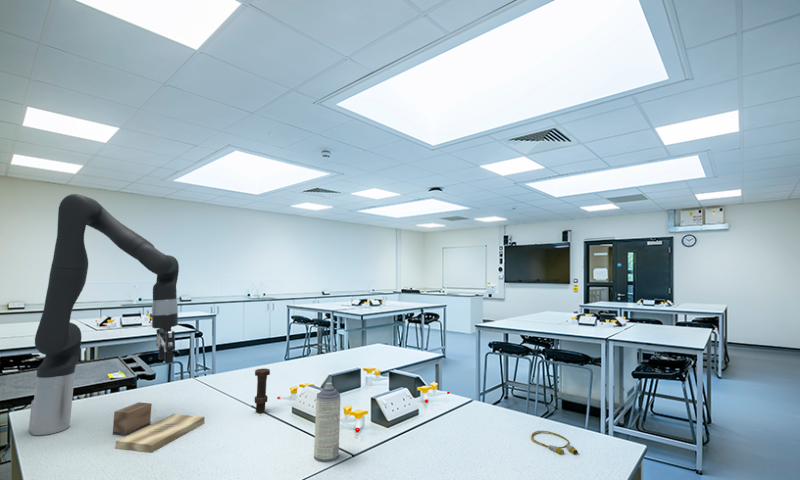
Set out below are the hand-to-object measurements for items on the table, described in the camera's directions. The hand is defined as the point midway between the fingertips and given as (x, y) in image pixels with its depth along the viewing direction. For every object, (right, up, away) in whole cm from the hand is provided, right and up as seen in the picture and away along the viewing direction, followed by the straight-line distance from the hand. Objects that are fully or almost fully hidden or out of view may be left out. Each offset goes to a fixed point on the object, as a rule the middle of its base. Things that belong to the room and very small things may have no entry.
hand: (165, 361), depth 131 cm
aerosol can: (+59, -20, -22) cm, 66 cm away
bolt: (+28, -22, +11) cm, 38 cm away
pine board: (+6, -20, -10) cm, 23 cm away
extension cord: (+127, -23, -11) cm, 130 cm away
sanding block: (-6, -20, -7) cm, 22 cm away
